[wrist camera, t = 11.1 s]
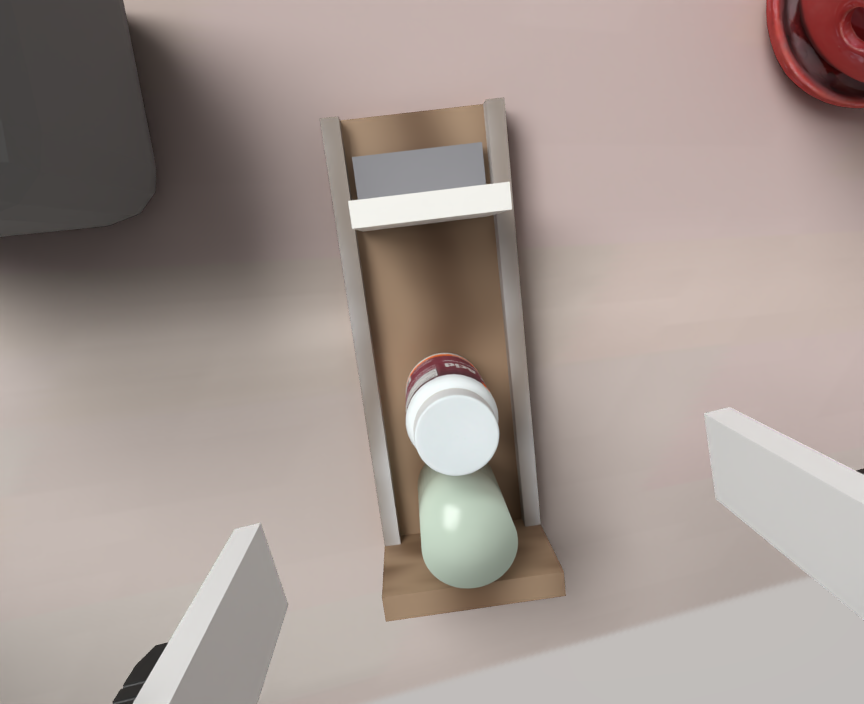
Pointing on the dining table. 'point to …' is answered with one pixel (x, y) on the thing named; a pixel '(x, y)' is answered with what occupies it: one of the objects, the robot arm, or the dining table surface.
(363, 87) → the dining table surface
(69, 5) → the alarm clock
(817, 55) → the plant pot
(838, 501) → the robot arm
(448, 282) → the tray
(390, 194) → the paddle
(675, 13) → the dining table surface
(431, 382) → the pill bottle
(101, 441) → the dining table surface
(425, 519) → the pale green rounded block
